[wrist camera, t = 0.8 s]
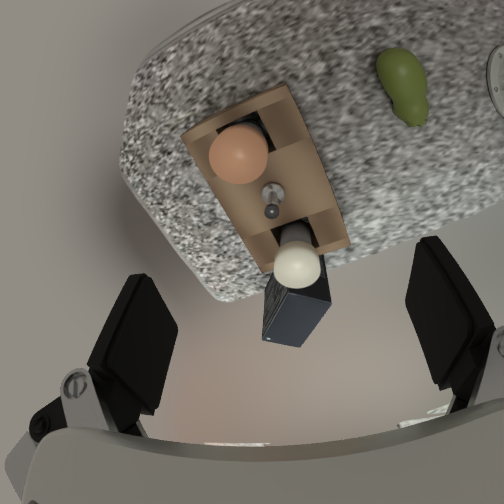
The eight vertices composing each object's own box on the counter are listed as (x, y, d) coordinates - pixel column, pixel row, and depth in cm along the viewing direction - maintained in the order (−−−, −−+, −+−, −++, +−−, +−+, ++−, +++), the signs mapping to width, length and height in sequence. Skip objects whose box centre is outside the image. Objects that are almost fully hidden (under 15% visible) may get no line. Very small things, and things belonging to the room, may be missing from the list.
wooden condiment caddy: (285, 82, 28) (286, 84, 23) (342, 219, 38) (351, 244, 33) (195, 124, 32) (179, 136, 27) (264, 246, 42) (262, 273, 37)
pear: (423, 46, 18) (444, 125, 24) (400, 40, 22) (423, 110, 28) (380, 58, 20) (407, 139, 27) (361, 52, 24) (389, 123, 30)
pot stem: (278, 178, 29) (278, 197, 26) (287, 197, 30) (288, 218, 27) (258, 186, 30) (254, 207, 26) (267, 204, 31) (265, 227, 28)
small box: (299, 299, 48) (301, 350, 40) (263, 290, 48) (259, 341, 39) (326, 253, 42) (334, 305, 34) (285, 241, 41) (285, 292, 33)
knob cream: (306, 208, 33) (311, 246, 27) (319, 240, 35) (326, 280, 29) (269, 222, 34) (266, 261, 28) (284, 251, 37) (284, 293, 31)
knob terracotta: (258, 107, 26) (251, 119, 20) (278, 146, 29) (277, 171, 23) (217, 126, 28) (198, 145, 22) (237, 163, 30) (226, 192, 24)
